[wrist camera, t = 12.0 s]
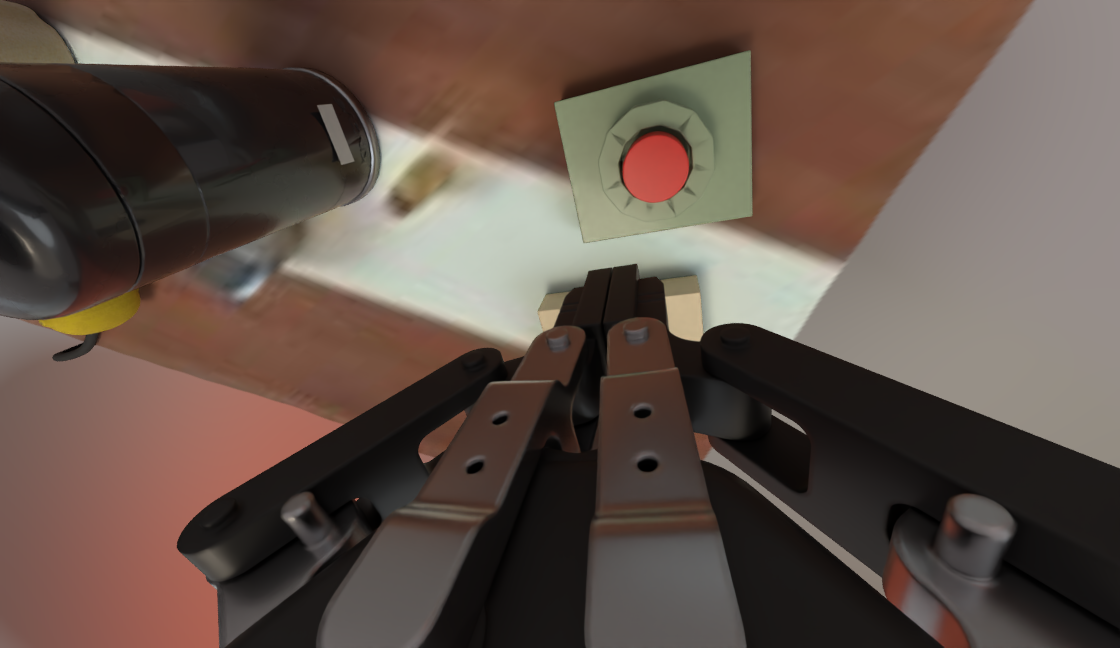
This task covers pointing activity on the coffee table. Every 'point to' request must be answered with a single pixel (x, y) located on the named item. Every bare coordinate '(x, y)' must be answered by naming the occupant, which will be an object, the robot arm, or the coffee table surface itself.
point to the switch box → (679, 109)
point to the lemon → (98, 316)
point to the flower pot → (29, 37)
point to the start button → (655, 167)
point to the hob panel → (679, 303)
